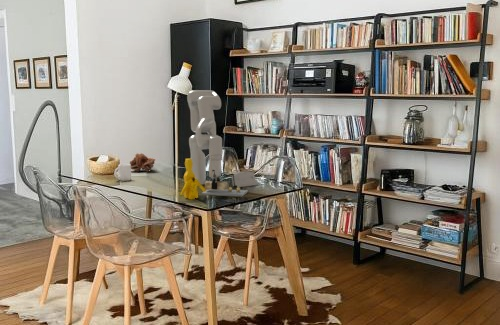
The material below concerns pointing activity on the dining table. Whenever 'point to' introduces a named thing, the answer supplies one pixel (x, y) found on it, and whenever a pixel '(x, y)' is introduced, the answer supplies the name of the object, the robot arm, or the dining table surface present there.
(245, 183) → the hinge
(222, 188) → the oak panel
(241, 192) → the white flat slab
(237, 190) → the brass posts
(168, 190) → the dining table surface
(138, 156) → the mineral specimen
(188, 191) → the figure statuette
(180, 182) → the dining table surface
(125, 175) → the mug
